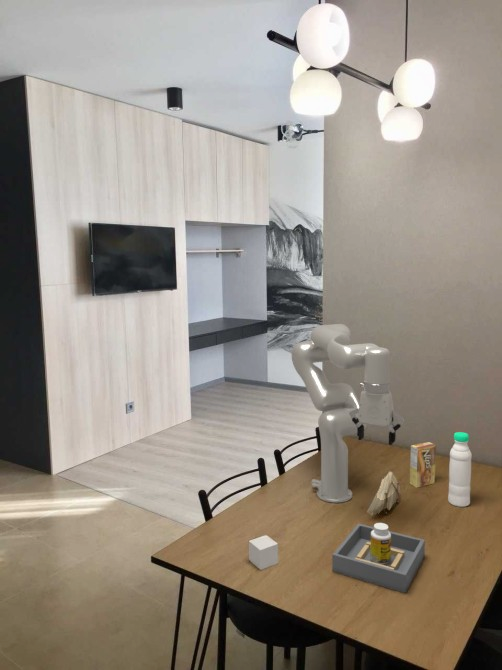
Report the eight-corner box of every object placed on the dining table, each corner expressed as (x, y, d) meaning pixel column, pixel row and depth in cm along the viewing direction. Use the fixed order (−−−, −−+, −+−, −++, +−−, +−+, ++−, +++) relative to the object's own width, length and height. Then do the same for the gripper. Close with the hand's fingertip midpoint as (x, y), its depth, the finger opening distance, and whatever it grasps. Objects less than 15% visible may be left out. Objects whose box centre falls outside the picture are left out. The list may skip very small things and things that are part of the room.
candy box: (427, 479, 210) (428, 441, 208) (435, 483, 206) (436, 444, 204) (409, 484, 206) (410, 445, 204) (417, 488, 203) (418, 448, 200)
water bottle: (444, 499, 193) (446, 430, 190) (463, 497, 194) (466, 429, 190) (453, 508, 187) (456, 437, 183) (473, 506, 187) (476, 436, 183)
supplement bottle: (380, 567, 150) (380, 533, 149) (366, 558, 155) (366, 524, 153) (394, 561, 153) (395, 527, 152) (380, 552, 158) (381, 519, 156)
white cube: (249, 560, 157) (248, 540, 156) (266, 554, 160) (266, 534, 160) (260, 570, 152) (260, 550, 151) (278, 563, 155) (278, 543, 155)
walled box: (332, 571, 151) (332, 554, 150) (357, 538, 168) (358, 523, 167) (405, 593, 141) (405, 575, 140) (424, 556, 157) (424, 539, 157)
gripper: (345, 387, 170) (345, 440, 172) (401, 393, 161) (400, 449, 163) (354, 382, 176) (353, 433, 179) (408, 388, 167) (407, 442, 170)
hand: (376, 441), depth 171 cm, fingers open, 9 cm apart
